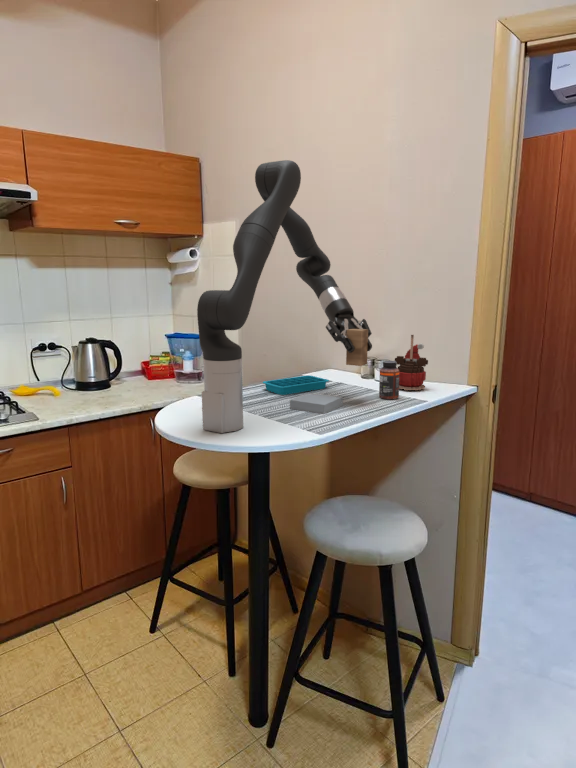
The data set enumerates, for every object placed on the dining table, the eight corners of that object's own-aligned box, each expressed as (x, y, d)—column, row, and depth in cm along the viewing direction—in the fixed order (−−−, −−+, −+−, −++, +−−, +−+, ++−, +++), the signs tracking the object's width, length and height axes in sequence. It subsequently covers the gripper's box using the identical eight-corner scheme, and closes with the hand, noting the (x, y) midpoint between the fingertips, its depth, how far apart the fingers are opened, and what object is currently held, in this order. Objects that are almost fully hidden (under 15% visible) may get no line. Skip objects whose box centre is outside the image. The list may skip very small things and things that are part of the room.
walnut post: (360, 366, 146) (361, 330, 144) (346, 364, 148) (346, 329, 146) (367, 363, 149) (368, 329, 147) (353, 362, 152) (353, 328, 150)
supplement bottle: (397, 395, 161) (399, 359, 159) (399, 400, 155) (401, 363, 153) (378, 395, 162) (379, 359, 159) (379, 399, 156) (380, 362, 154)
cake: (390, 390, 169) (392, 335, 166) (397, 384, 178) (400, 332, 174) (422, 393, 165) (425, 337, 161) (429, 387, 173) (432, 334, 169)
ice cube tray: (261, 390, 170) (260, 381, 170) (309, 383, 182) (309, 375, 181) (281, 397, 161) (281, 387, 161) (330, 389, 173) (330, 380, 172)
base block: (324, 415, 140) (324, 405, 139) (289, 410, 146) (289, 399, 145) (342, 407, 149) (342, 397, 148) (309, 402, 155) (309, 392, 154)
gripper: (322, 297, 147) (347, 343, 140) (360, 296, 155) (386, 340, 147) (310, 315, 152) (335, 360, 145) (348, 313, 160) (373, 356, 153)
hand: (361, 350), depth 146 cm, fingers closed on walnut post, 6 cm apart
